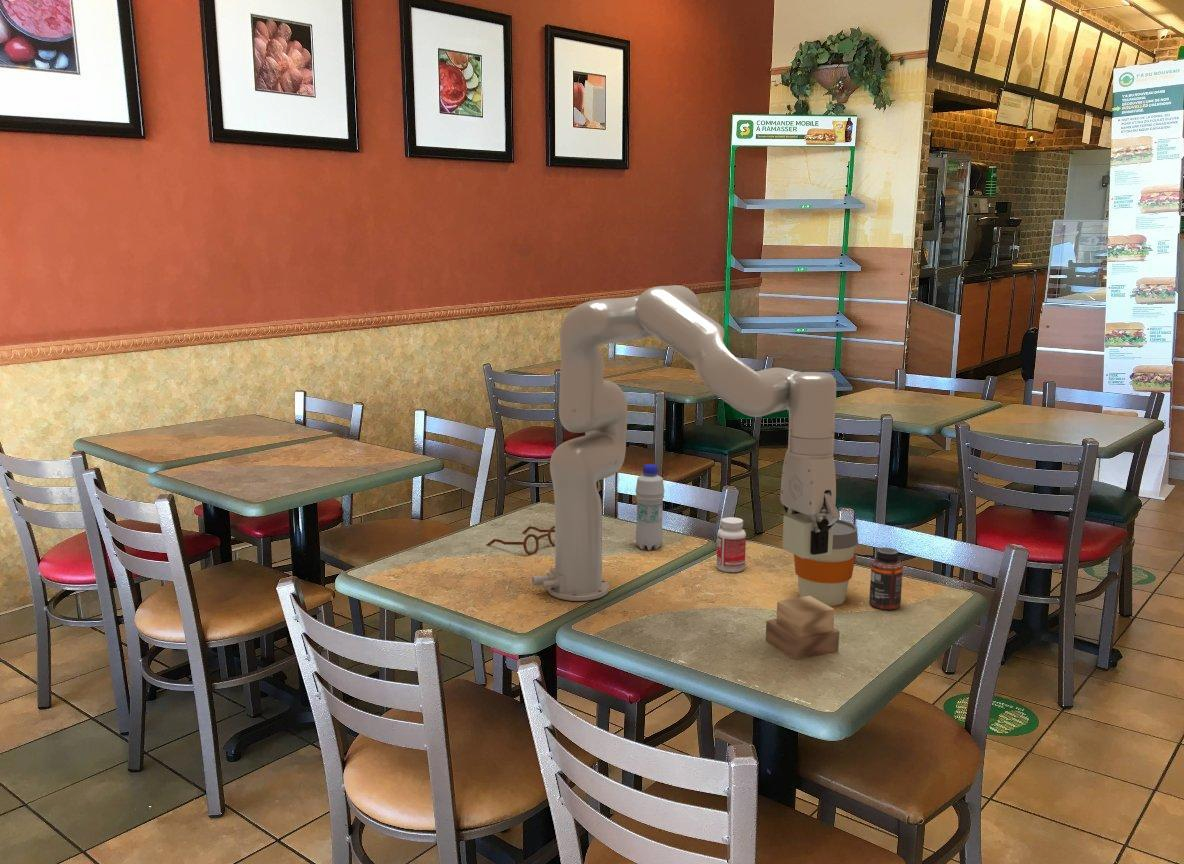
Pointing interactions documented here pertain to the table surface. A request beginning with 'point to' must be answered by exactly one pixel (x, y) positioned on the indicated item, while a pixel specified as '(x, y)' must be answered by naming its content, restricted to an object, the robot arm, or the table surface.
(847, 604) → the table surface
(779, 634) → the walnut block
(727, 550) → the pill bottle
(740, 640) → the table surface
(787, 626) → the oak block
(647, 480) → the bottle
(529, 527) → the glasses
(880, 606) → the supplement bottle
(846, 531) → the reusable coffee cup
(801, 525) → the sage cube
